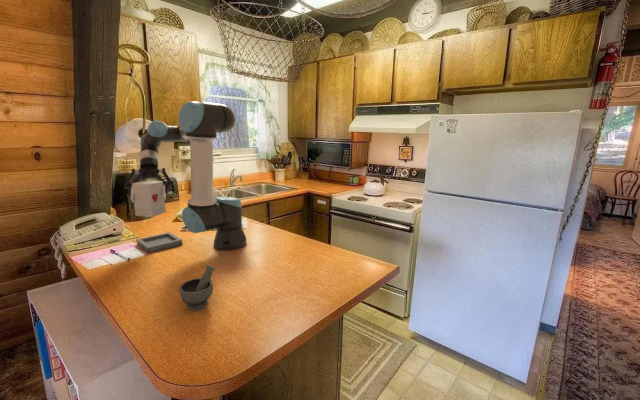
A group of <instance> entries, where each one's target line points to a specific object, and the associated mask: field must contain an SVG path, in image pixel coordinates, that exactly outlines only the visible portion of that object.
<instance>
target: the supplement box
mask: <svg viewBox="0 0 640 400" xmlns="http://www.w3.org/2000/svg"><path fill="white" fill-rule="evenodd" d="M132 189H133V197H134V202H133V204H134V205H133V206H134V213H135V216H137V217H144V218H145V217H146V218H148V217H149V218H154V217H157V216H159V215H162V214H165V213H166V211H167V210H166V202H165V201H166V200H164V198H163V181H158V180H150V179H149V180H147V179H145V180H141V181H140V182H136V183H132Z"/></svg>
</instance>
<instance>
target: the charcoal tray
mask: <svg viewBox="0 0 640 400" xmlns="http://www.w3.org/2000/svg"><path fill="white" fill-rule="evenodd" d="M136 244H137V246H139V247H140V248H141V249H142V250H144V252H146V253H148V254H150V253H155V252H158V251H162V250H167V249H171V248H174V247H178V246H182V245H183V239H182V238H180V237H178V236H177V235H175V234H174V233H172V232H170V231H169V232H164V233H160V234H156V235H151V236H146V237H141V238H137V239H136Z"/></svg>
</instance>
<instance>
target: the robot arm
mask: <svg viewBox="0 0 640 400" xmlns="http://www.w3.org/2000/svg"><path fill="white" fill-rule="evenodd" d="M235 125H236V117H235V113H234V112H233V110H232V109H231V108H230V107H229V106H227V105H226V104H222V103H215V102H205V101H204V102H203V101H200V100H199V101H197V100H196V101H195V100H194V101H186V102H185V103H184V104H183V105H182V107H180V109H179V112H178V125H167V124H166V123H165V122H164V121H160V120H153V121H151V122H150V123H149V125H148V127H147V130H146V133H144V134H143V135H141V137H140V142H139V143H140V154H139V157H140V159H139V160H140V161H139V169H135V168H132V169H131V172H130V174H129V176H128V177H127V179H126V181H124V183H123V186H124V189H125V190H127V189H128V191H127V193H128V195H129V196H130V200H131V202H132V203H134V197H133V189H132V183H136V182H141V181H144V180H147V179H155V180H156V181H163V198H164V200H165V201H166V200H167V198H166V197H167V194H168V193H169V188H170V187H173V182H172V180H171V178H170V177H169V175H168V173H167V172H166V168H165V167H162V169H160V168H159V148H160V145H161V144H162V142H188V141H189V146H190V148H189V149H190V151H189V154H190V155H189V157H190V185H191V186H190V187H191V188H190V190H191V191H190V192H191V193H190V194H191V197H190V198H189V199H188V200H187V206H186V207H184V208H183V209H182V212H181V217H182V222H183V223H184V225H185V227H186V228H187V230H188V231H189V232H191V233H192V234H199V233H204V232H207V231H211V230H215V229H216V233H215V235H214V239H213V246H214V248H215V249H217V250H221V251H231V250H237V249H240V248H243V247H245V246H246V245H247V237H246V235H245V232H244V228H243V217H242V216H243V213H242V211H243V208H242V201H241V199H240V198H237V197H232V196H217V197H214V163H213V161H214V158H213V157H214V155H213V154H214V153H213V152H214V148H213V147H214V144H213V143H214V141H215V140H216V139H217V138H218V137H217V135H218V134H219V133H220V134H221V133H227V132H229V131H231V130H232V129H233V128H234V126H235ZM159 174H161V175H163V177H164V178H163V177H162V176H160V175H159ZM137 175H138V176H137ZM136 176H137V177H136ZM135 177H136V178H135ZM164 179H165V180H166V181H165V180H164Z"/></svg>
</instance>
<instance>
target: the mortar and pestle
mask: <svg viewBox="0 0 640 400" xmlns="http://www.w3.org/2000/svg"><path fill="white" fill-rule="evenodd" d="M215 270H216V268H215V266H213V265H209V264H207V265H205V270H204V272H203V273H202V276H201V277H195V278H191V279H189V280H186V281H184V282H182V283H181V284H180V285H179V286H178V288H179V289H178V290H179V295H180V298H181V300H182V302H183V303H184V304H186V308H187V310H189V311H191V312H195V311H197V312H198V311H201V310H203V309H205V308H206V307H207V306H208V305H209V302H208V300H209V299H210V297H212V295H213V292H214V284H213V281H212V275H213V273H214V271H215Z"/></svg>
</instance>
